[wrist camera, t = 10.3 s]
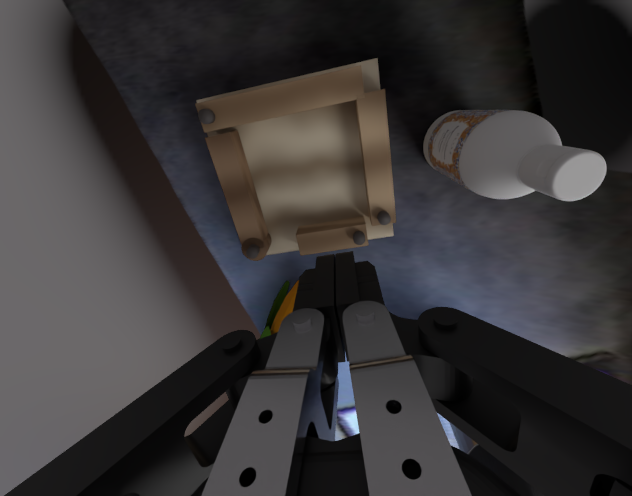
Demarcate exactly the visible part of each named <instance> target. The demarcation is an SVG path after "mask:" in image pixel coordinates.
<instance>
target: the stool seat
mask: <svg viewBox="0 0 632 496" xmlns="http://www.w3.org/2000/svg"><path fill="white" fill-rule="evenodd" d="M196 101H197V103H196V104H195V105H196V108H197V111H198V118H199V120H200V122H201V124H202V127H203V130H204V133H205V132H207V135H208V137H211V136H215V135H220V134H224V133H229V132H233V131H238V133H239V136H240V139H241V143H242V146H243V149H244V153H245V156H246V159H247V163H248V166H249V170H250V173H251V176H252V180H253V183H254V186H255V190H256V193H257V197H258V200H259V203H260V207H261V210H262V213H263V217H264V220H265V223H266V227H267V230H268V233H269V234H270V236H271V239H272V242H271V245H270V247H269V250H268V252H267V254H266V255H271V254H278V253H284V252H291V251H298V250H299V251H300V255H308V254H315V253H321V252H328V251H335V250H341V249H348V248H355V247H361V246H368V240H370V239H376V238H383V237H389V236H394V235H393V224H392V223H396V214H395V203H394V191H393V179H392V167H391V155H390V143H389V132H388V120H387V108H386V96H385V89H382V90H380V80H379V69H378V58H375V59H371V60H367V61H362V62H358V63H354V64H350V65H345V66H341V67H337V68H332V69H328V70H324V71H320V72H315V73H311V74H307V75H302V76H298V77H294V78H290V79H285V80H281V81H277V82H272V83H268V84H264V85H260V86H255V87H251V88H247V89H242V90H238V91H234V92H230V93H225V94H221V95H217V96H212V97H208V98H204V99H200V100H196Z"/></svg>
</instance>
